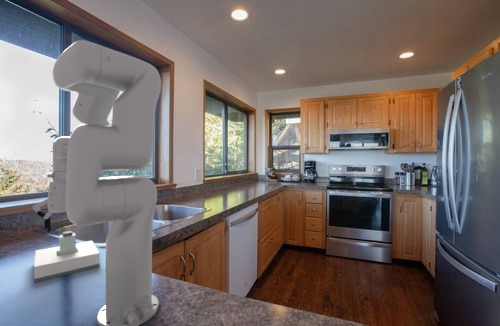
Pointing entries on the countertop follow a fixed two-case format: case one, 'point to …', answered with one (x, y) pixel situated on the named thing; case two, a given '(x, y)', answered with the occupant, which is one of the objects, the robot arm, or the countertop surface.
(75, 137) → the robot arm
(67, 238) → the pale green block
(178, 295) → the countertop surface
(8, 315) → the countertop surface
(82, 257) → the block
